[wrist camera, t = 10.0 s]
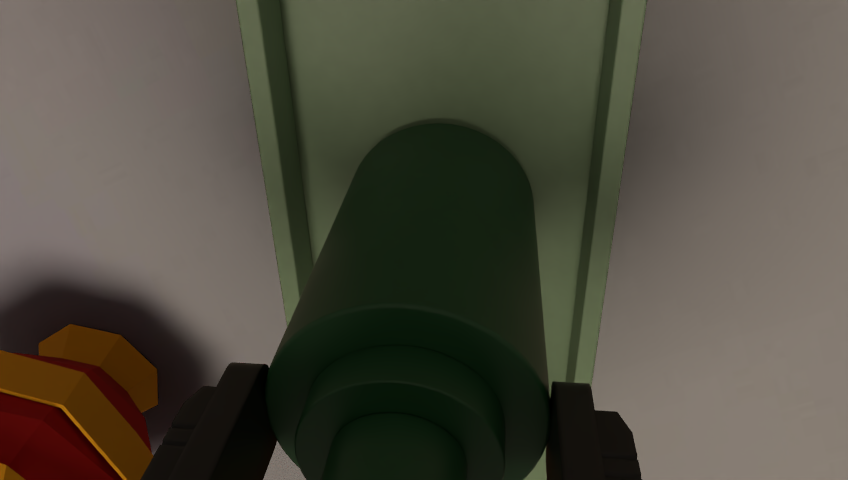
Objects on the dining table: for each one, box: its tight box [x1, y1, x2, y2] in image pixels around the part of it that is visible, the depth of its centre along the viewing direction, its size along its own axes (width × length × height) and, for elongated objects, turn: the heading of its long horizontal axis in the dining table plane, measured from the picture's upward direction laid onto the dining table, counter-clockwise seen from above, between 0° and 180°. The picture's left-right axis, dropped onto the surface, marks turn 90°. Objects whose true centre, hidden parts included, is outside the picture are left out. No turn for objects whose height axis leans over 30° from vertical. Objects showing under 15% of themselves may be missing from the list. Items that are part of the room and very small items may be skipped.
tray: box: [236, 0, 647, 480], centre depth 24 cm, size 29×10×2 cm, turn 1°
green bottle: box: [265, 123, 551, 480], centre depth 16 cm, size 6×6×13 cm
